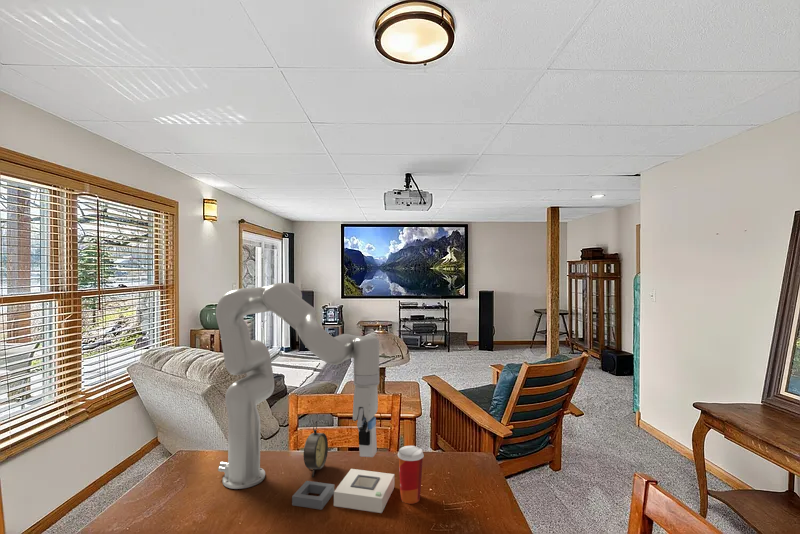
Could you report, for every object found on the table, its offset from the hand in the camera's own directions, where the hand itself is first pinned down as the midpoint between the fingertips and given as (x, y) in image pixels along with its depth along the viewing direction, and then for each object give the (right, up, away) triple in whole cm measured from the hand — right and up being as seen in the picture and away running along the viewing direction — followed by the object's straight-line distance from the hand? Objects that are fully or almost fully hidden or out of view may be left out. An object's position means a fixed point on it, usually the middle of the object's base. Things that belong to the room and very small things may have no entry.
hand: (366, 440), depth 124 cm
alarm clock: (-18, -16, +16) cm, 29 cm away
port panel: (0, -16, 0) cm, 16 cm away
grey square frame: (-15, -16, -2) cm, 22 cm away
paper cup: (+13, -17, -1) cm, 21 cm away
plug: (0, -4, 0) cm, 4 cm away
